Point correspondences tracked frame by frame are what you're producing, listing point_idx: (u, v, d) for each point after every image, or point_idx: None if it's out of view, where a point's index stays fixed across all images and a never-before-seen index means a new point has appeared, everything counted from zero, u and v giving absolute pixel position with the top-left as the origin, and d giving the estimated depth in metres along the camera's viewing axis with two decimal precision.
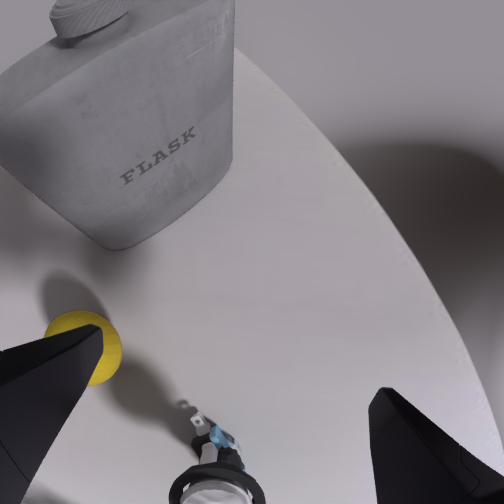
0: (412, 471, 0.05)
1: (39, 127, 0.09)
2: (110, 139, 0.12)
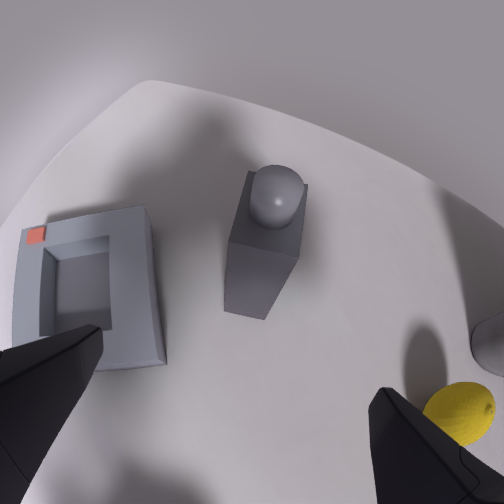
0: (412, 471, 0.05)
1: None
2: None
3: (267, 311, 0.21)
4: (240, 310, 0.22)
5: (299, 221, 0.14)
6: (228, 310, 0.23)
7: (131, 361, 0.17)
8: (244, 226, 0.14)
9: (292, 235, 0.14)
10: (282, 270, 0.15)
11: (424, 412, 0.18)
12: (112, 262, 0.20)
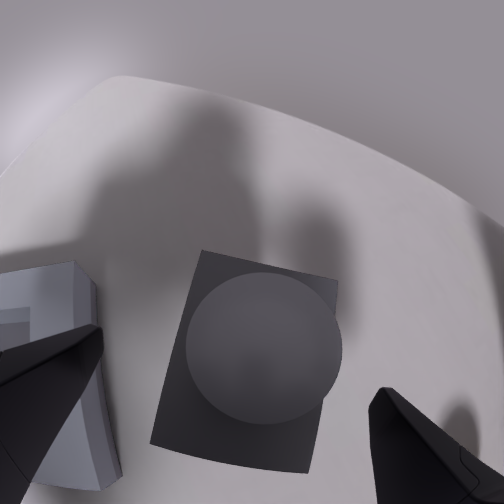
0: (412, 471, 0.05)
1: None
2: None
3: None
4: None
5: None
6: None
7: (69, 487, 0.09)
8: (185, 408, 0.05)
9: (298, 424, 0.05)
10: None
11: None
12: None
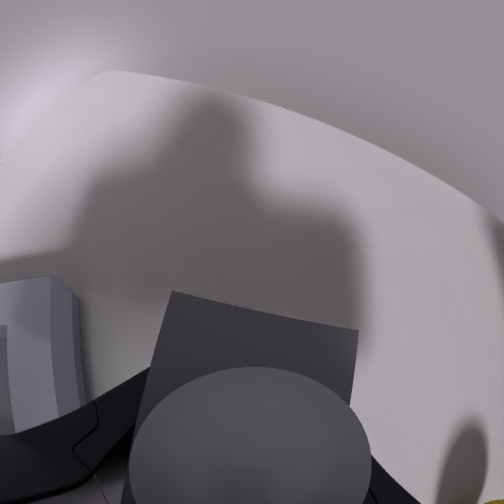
0: None
1: None
2: None
3: None
4: None
5: None
6: None
7: None
8: None
9: None
10: None
11: None
12: (11, 372, 0.10)
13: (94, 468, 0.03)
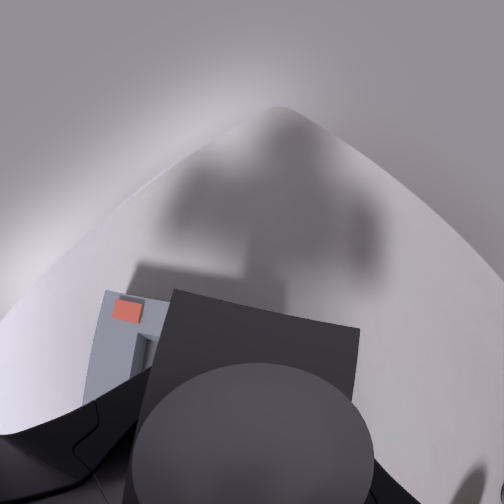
0: None
1: None
2: None
3: None
4: None
5: None
6: None
7: None
8: None
9: None
10: None
11: None
12: None
13: (94, 468, 0.03)
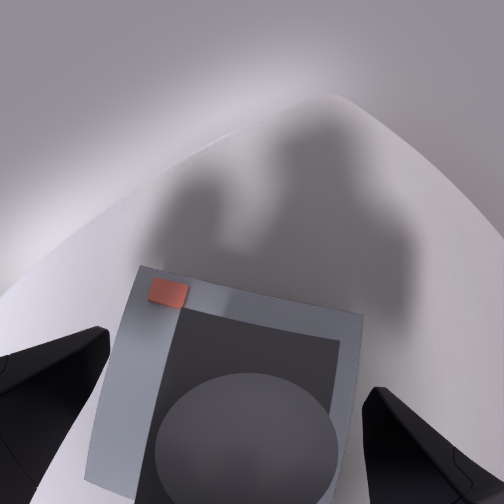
0: (404, 472, 0.05)
1: None
2: None
3: None
4: None
5: None
6: None
7: None
8: None
9: None
10: None
11: None
12: None
13: None
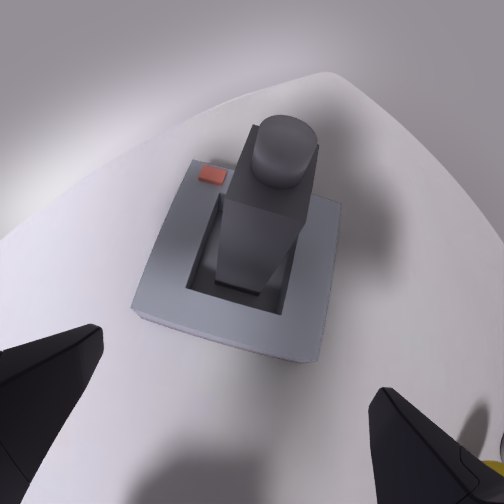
0: (412, 471, 0.05)
1: None
2: None
3: (262, 286, 0.19)
4: (232, 283, 0.20)
5: (308, 182, 0.12)
6: (219, 283, 0.21)
7: (290, 354, 0.18)
8: (244, 182, 0.12)
9: (299, 197, 0.12)
10: (284, 238, 0.13)
11: None
12: (299, 246, 0.20)
13: None
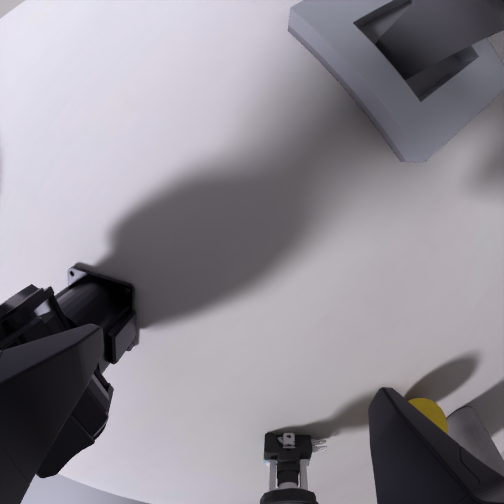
0: (412, 471, 0.05)
1: None
2: None
3: (418, 70, 0.13)
4: (393, 52, 0.14)
5: None
6: (379, 44, 0.15)
7: (407, 136, 0.15)
8: None
9: None
10: (479, 29, 0.07)
11: (419, 401, 0.21)
12: (465, 72, 0.13)
13: None
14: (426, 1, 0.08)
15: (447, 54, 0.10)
